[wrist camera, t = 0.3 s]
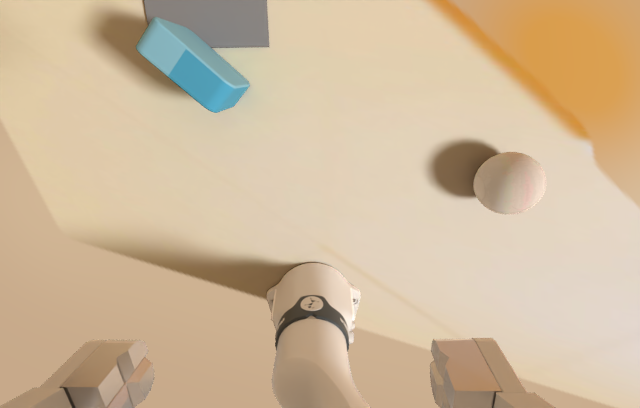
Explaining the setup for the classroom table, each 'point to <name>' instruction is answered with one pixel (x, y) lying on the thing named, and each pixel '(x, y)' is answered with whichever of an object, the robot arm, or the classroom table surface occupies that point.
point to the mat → (217, 20)
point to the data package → (192, 65)
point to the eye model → (509, 183)
